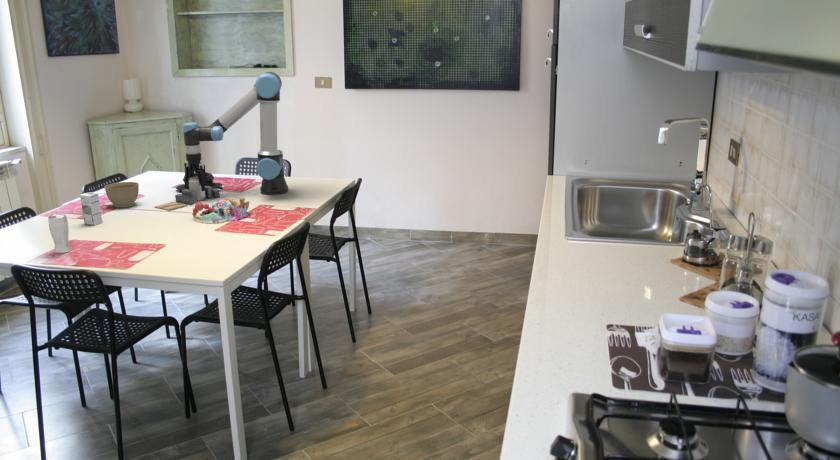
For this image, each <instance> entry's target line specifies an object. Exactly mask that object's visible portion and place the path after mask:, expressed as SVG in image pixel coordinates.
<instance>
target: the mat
mask: <svg viewBox="0 0 840 460" xmlns="http://www.w3.org/2000/svg"><path fill="white" fill-rule="evenodd" d="M186 207H189V205H186V204H181V203H176V201H170V202H166V203H163V204H159V205H155V206H154V209H159V210H162V211H163V210H164V211H170V212H171V211H174V210H178V209H182V208H186Z"/></svg>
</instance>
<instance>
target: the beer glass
mask: <svg viewBox="0 0 840 460" xmlns="http://www.w3.org/2000/svg"><path fill="white" fill-rule="evenodd" d="M47 219H48V227H49V231H50V235H51V237H52V240H53V244H54V253H55V254H59V253H60V254H66V252H67V253H70V252H71V251H72V248H71V246H70V245H71V244H70V242H69V241H70V240H69V233H70V232H69V231H70V230H69V223H68V218H67V215H66V214H64V213H59V214H57V213H56V214H52V215H49V216H48V217H47ZM69 251H70V252H69Z"/></svg>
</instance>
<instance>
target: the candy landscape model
mask: <svg viewBox="0 0 840 460" xmlns="http://www.w3.org/2000/svg"><path fill="white" fill-rule="evenodd" d="M245 199H246V198H245V197H241V198H239V202H238V201H237V200H234V199H233V198H231V197H225V198H224V199H219V200H218V201H215V202H213V203H212V204H211V207H210V205H209V204H208V203H203V202H202V201H197V203H195V204H194V208H192V218H193V221H194V222H197V223H200V224H206V225H215V224H216V225H219V224H224V223H225V222H234V221H235V220H237V221H239V219H240V220H243V219H244V217H245V218H246V217H247V216H248V215H250V212H249V211H248V209H249V206H250V201H245ZM203 209H204V210H203ZM199 212H201V213H200V214H198V213H199ZM235 222H236V221H235Z"/></svg>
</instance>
